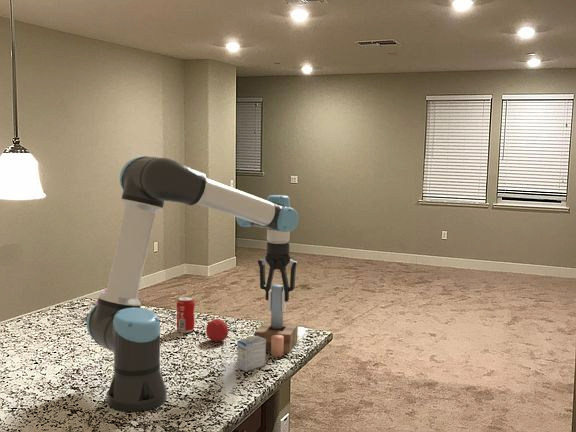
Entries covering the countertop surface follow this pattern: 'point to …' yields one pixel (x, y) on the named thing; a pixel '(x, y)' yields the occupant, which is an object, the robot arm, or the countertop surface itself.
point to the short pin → (277, 345)
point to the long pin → (276, 306)
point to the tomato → (217, 330)
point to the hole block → (287, 331)
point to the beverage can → (185, 314)
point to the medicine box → (251, 353)
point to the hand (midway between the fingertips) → (277, 310)
